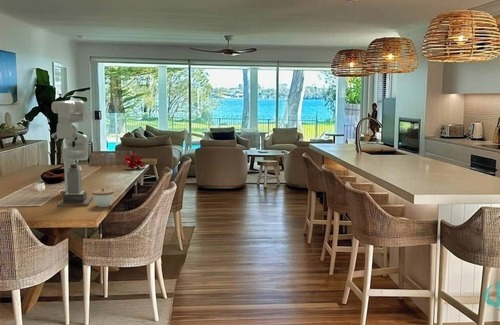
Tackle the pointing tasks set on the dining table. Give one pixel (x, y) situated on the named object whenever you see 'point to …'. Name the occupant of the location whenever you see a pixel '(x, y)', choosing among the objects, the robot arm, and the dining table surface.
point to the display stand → (74, 200)
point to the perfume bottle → (74, 179)
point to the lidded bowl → (103, 197)
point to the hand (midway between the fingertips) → (65, 147)
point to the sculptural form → (133, 161)
